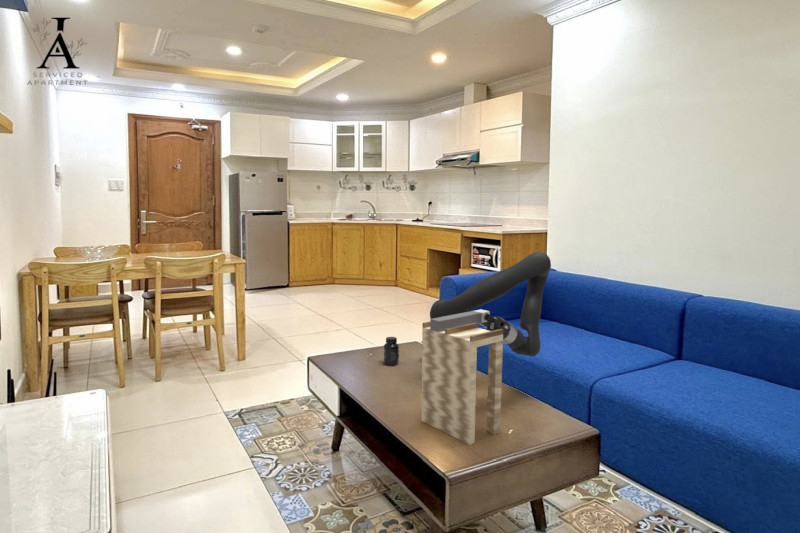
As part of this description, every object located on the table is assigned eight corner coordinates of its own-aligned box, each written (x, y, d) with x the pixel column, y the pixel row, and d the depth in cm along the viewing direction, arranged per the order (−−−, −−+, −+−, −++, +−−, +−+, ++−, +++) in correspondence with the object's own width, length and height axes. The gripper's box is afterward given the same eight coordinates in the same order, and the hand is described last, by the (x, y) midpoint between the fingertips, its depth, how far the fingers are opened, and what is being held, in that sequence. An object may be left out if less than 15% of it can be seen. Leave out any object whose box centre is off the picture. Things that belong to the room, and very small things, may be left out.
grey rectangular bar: (430, 329, 168) (430, 319, 167) (480, 319, 183) (480, 309, 182) (438, 332, 165) (439, 321, 164) (489, 321, 180) (489, 311, 179)
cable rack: (421, 420, 174) (422, 322, 170) (451, 410, 183) (452, 317, 179) (469, 444, 158) (472, 336, 153) (500, 431, 166) (503, 329, 162)
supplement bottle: (381, 362, 237) (381, 336, 235) (395, 361, 239) (396, 335, 238) (386, 367, 230) (386, 340, 229) (401, 365, 233) (401, 339, 231)
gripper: (490, 317, 194) (464, 300, 184) (521, 324, 183) (495, 307, 173) (483, 336, 192) (456, 320, 183) (514, 344, 181) (487, 327, 172)
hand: (475, 313), depth 178 cm, fingers open, 8 cm apart
